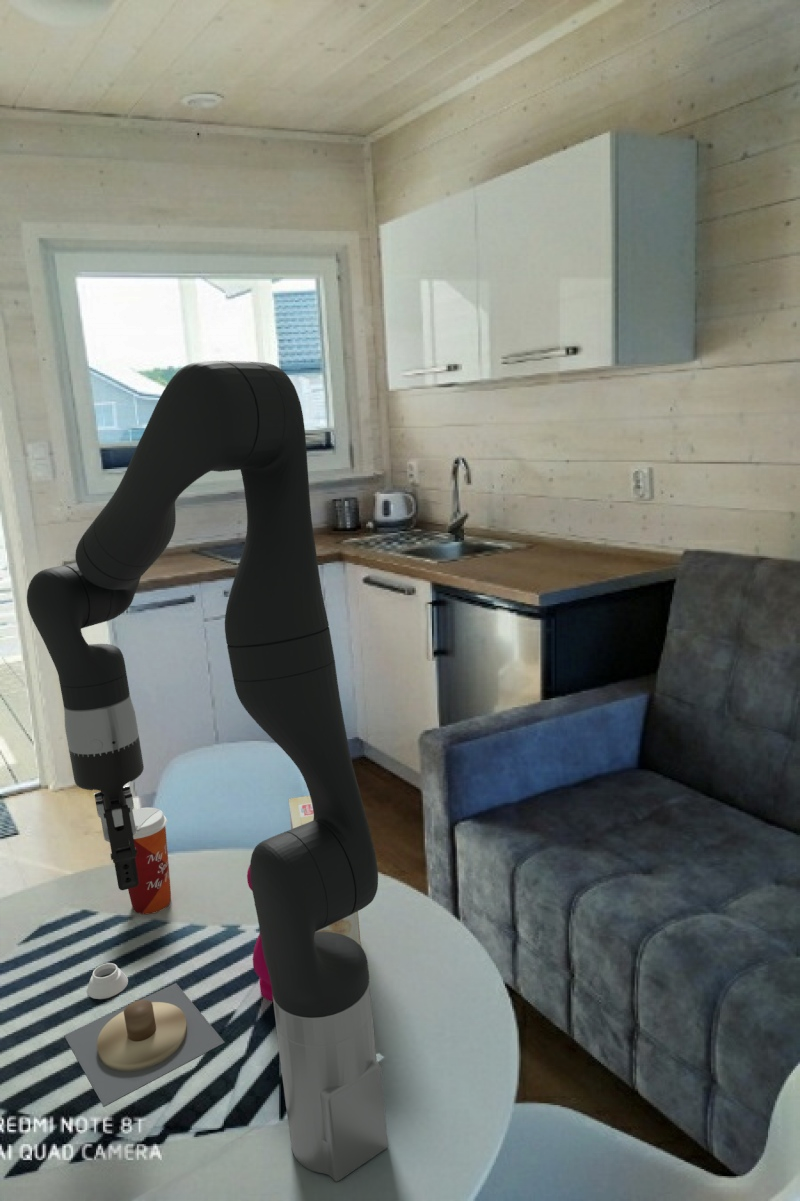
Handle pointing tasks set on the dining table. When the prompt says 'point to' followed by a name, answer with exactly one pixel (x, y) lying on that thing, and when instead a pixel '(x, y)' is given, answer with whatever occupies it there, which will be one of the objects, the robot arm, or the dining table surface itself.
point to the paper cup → (150, 862)
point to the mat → (124, 1082)
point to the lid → (141, 1035)
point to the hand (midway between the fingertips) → (125, 869)
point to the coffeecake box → (304, 814)
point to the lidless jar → (106, 981)
